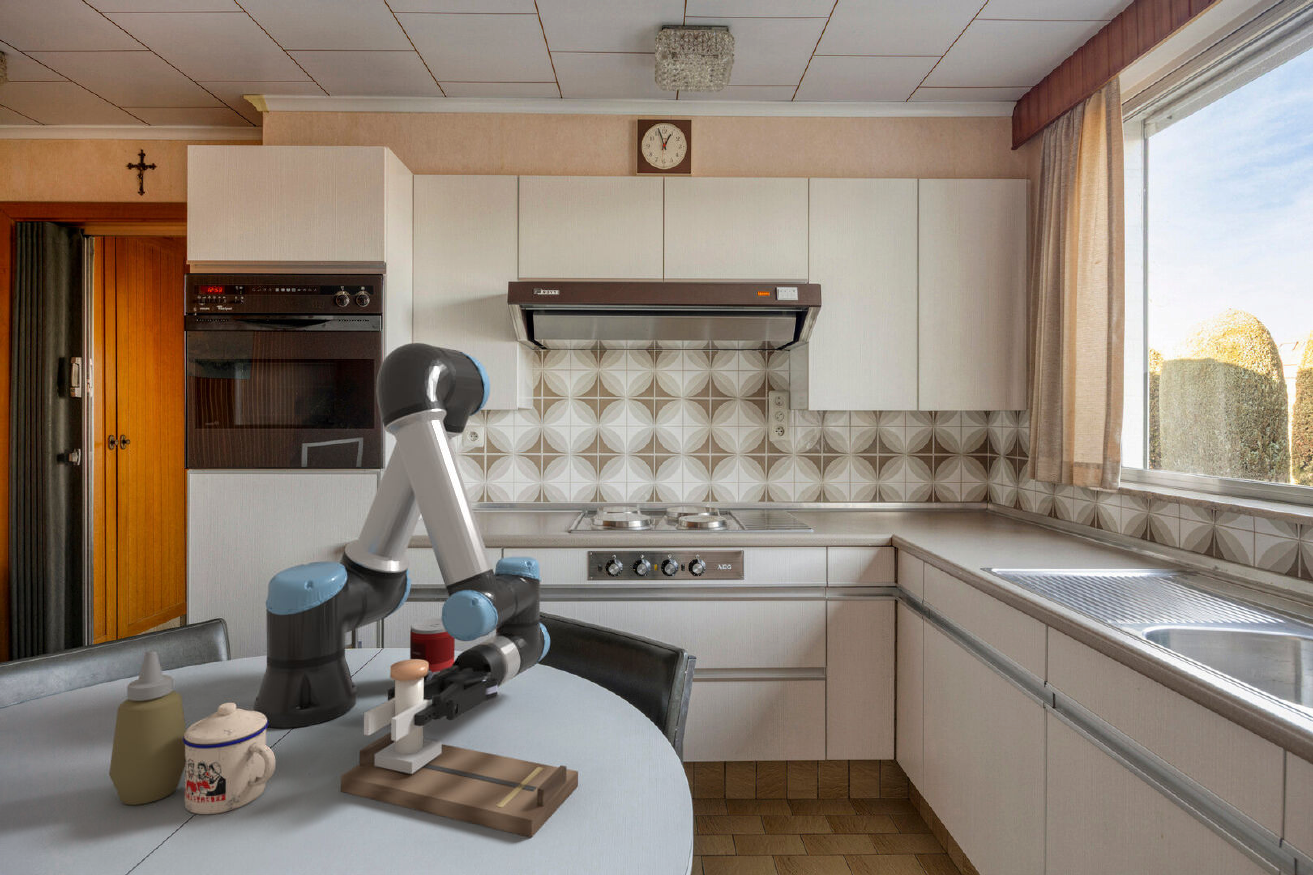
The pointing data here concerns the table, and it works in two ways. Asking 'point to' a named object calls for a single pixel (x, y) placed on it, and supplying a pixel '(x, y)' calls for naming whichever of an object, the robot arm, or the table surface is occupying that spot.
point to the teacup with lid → (226, 760)
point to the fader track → (467, 787)
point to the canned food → (432, 644)
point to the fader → (412, 747)
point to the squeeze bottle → (148, 737)
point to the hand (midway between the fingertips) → (380, 726)
